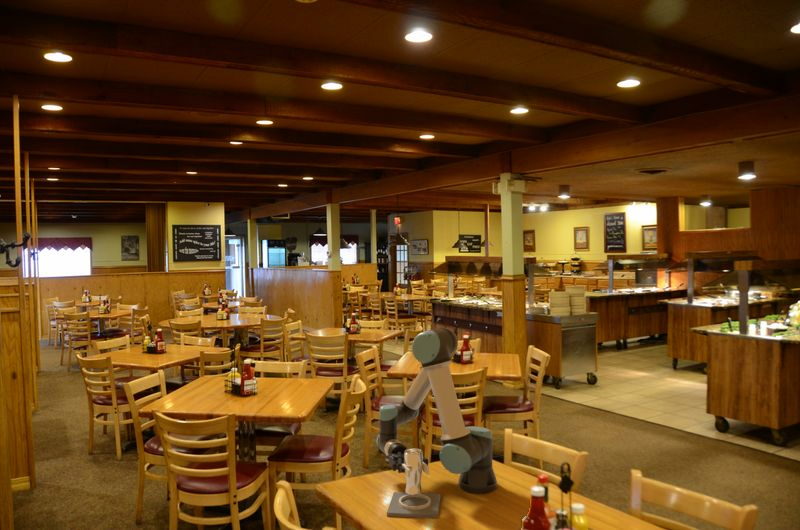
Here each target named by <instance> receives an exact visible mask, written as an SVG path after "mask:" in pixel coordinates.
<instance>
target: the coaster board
mask: <svg viewBox="0 0 800 530" xmlns="http://www.w3.org/2000/svg"><path fill="white" fill-rule="evenodd" d="M441 497H442V495H441V493H429V492H428V493H427V492H426V493H424V492H421V493H420V494H418V495H409V494H407V493H406V492H405V491H404V492H401V491H394V492H393V493H392V497H391V500H390V503H389V505H388V508H387V511H386V516H387V517H397V518H398V517H399V518H423V519H438V518H439V511H440V504H441V499H442V498H441Z"/></svg>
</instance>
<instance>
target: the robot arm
mask: <svg viewBox="0 0 800 530" xmlns="http://www.w3.org/2000/svg"><path fill="white" fill-rule="evenodd" d="M458 346H459V340H458V337H457V335H456V333H455V332H454V331H453V330H452V329H450V328H447V327H438V328H433V329H428V330H425V331H422V332H420V333H418V334H417V335H416V336H415V337H414V339H413V341H412V344H411V351H412V355H413V358H414V359H415V360H417V362H419V363H420V364H421V369H420V370H419V372H418V374H417V376H416V377H415V379H414V381H413V382H412V384H411V386H410V387H409V389H408V391H407V393H406V394H405V396H404V398H403V399H402V401H401V403H400V404H399V405H398V406H396V405H395V404H383V405H381V406H380V407H379V414H378V425H379V430H378V431H379V433H378V435H377V438H376V446H377V447H378V449H379V450H380V451H381V452H382V453H383V454H385V463H386V464H388V465H389V467H390V468H391V470H392V471H393V472H396V471H397V472H398V474H401V473H403V474H404V475H405V477H406V476H407V477H408V478H409V477H410V469H409V468H408V467H407V466H405V465H404V453H405V452H404V451H405V450H407V449H408V448H407V446H405V445H404V444H403V443H402V442H401V441H400V440H399V439H398V436H399V435H398V431H399V429H398V427H399V426H401V425H403V424H406V423H408V422H411V421H414V420H415V419H416V418H418V416H419V415H420V414H419V413H420V407H421V406H422V404H423V402H424V400H425V399H426V397H427V395H428V394H429V392H430V390H432V395H433V398H434V399H433V400H434V402H435V407H436V410H437V415H438V418H439V421H440V425H441V429H442V435H441V437H440V441H441V446H442V447H441V448H440V451H439V460H440V464H441V465H442V467H443V468H444V469H445V470H447V471H448V472H449V473H452V474H455V475H459V478H458V487H459V488H460V489H461V490H463V491H465V492H468V493H473V494H487V493H491V492H493V491H495V490H496V489H497V488H498V480H497V477H496V474H495V471H494V469H493V433H492V430H491V429H489V428H485V427H482V426H481V427H480V426H466V425H465V423H464V422H465V421H464V418H463V414H462V411H461V407H460V403H459V400H458V396H457V392H456V388H455V384H454V381H453V377H452V373H451V370H450V364H451V363H452V359H453V357H454V356H455V355H456V354H455V353H456V352H457V350H458ZM422 472H423V473H425V474H426V475H430V466H429V459H428V458H426V457H425V456H424V455H423V469H422Z"/></svg>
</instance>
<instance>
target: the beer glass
mask: <svg viewBox="0 0 800 530" xmlns="http://www.w3.org/2000/svg"><path fill="white" fill-rule="evenodd" d="M404 452H405V453H404V463H403V464H404V465H405V466H407V467H408V468H409V469H410V477H409V478H408V477H407V476H406V475H405V481H406V485H405V489H404V490H405V491H404V492H406V493H407V494H409V495H418V494H420V493H423V490H422V474H423V470H422V469H423V456H424V455H423V450H422V449H420V448H415V447H413V448H412V447H411V448H407V450H405V451H404Z"/></svg>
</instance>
